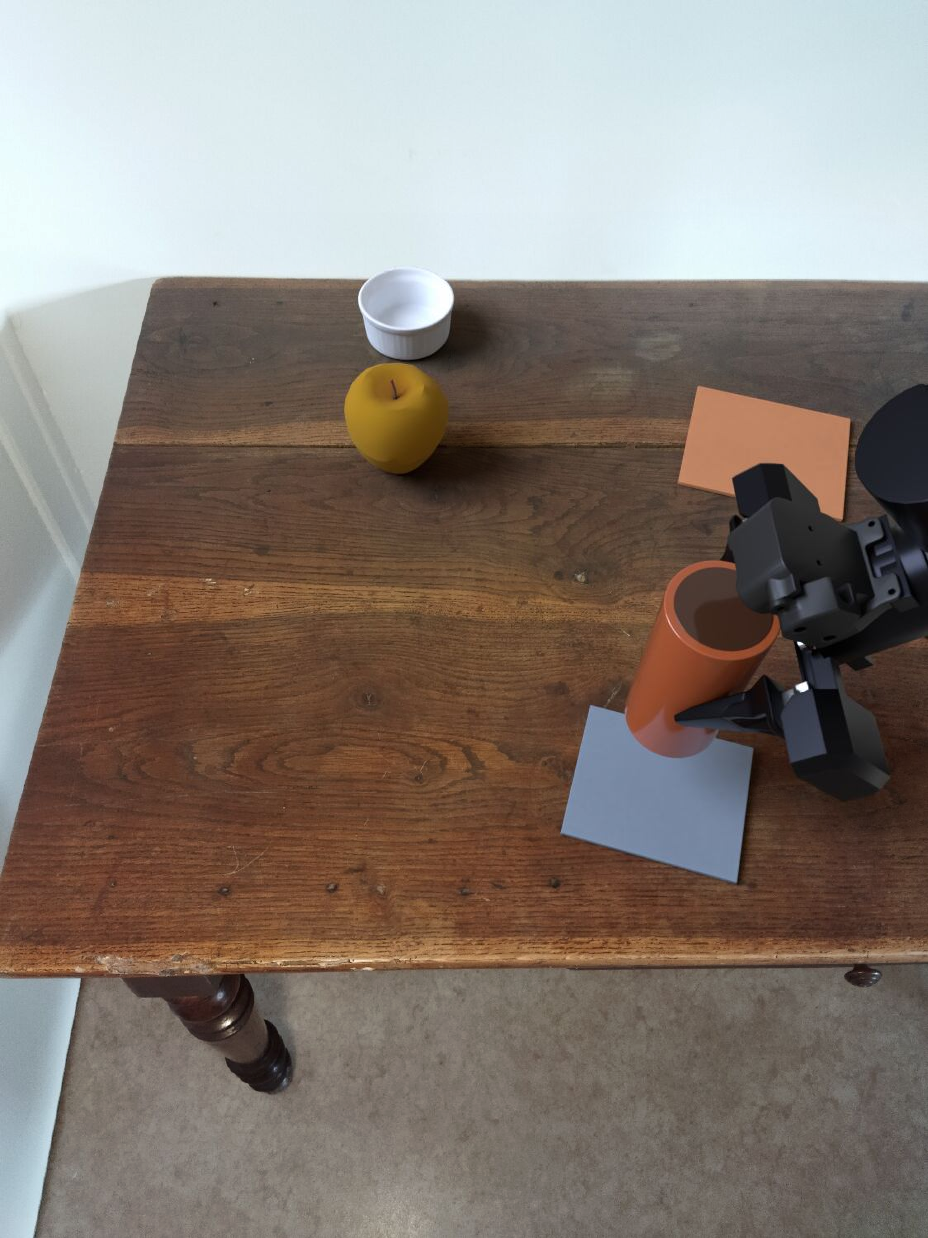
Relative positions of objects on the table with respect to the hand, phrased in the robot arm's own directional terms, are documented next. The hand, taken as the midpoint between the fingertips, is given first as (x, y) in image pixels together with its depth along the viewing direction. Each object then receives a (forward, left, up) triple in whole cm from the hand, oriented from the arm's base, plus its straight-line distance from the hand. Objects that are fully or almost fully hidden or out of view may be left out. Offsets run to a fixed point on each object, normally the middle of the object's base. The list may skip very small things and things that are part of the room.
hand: (670, 671), depth 53 cm
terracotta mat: (-6, -32, -12) cm, 35 cm away
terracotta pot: (-1, 0, -6) cm, 6 cm away
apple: (+25, -22, -13) cm, 35 cm away
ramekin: (+29, -37, -13) cm, 48 cm away
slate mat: (-2, +2, -12) cm, 13 cm away
